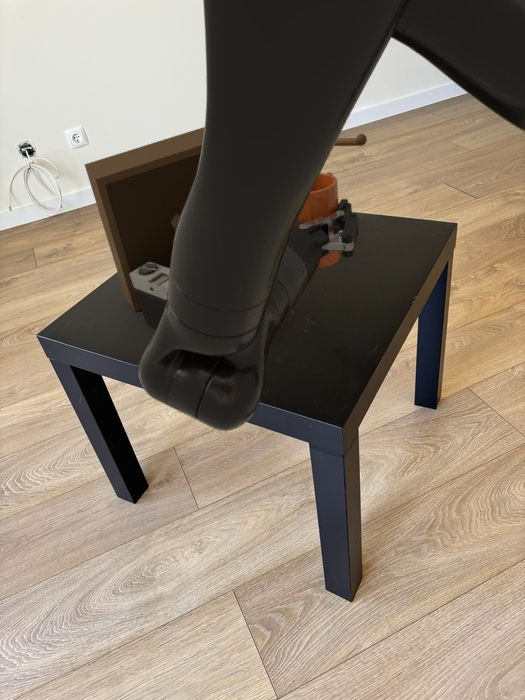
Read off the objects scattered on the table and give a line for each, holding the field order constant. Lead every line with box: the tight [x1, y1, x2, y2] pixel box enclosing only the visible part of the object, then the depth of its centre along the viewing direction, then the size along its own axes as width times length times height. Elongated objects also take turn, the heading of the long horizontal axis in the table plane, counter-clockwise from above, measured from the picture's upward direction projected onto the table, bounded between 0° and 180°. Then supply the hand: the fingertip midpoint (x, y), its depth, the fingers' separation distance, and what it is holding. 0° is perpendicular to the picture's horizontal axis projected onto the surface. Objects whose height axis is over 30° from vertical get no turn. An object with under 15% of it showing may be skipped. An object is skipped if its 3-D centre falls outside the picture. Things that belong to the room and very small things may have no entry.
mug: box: [297, 171, 342, 269], centre depth 68 cm, size 10×6×10 cm, turn 158°
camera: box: [130, 262, 170, 330], centre depth 79 cm, size 14×8×10 cm, turn 50°
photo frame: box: [84, 126, 205, 313], centre depth 81 cm, size 15×22×25 cm
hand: (319, 205), depth 67 cm, fingers closed on mug, 6 cm apart
